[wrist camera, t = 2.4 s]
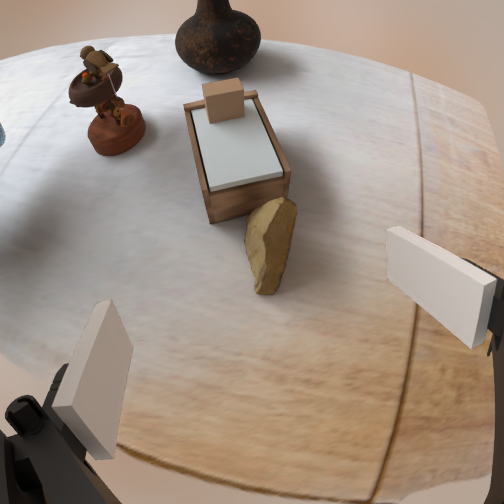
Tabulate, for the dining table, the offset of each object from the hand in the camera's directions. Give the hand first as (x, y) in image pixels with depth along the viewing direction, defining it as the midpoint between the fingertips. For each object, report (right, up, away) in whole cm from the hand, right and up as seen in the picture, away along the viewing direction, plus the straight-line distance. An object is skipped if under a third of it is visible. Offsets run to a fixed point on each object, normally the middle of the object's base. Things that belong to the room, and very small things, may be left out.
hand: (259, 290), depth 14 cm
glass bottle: (-7, +43, +47) cm, 64 cm away
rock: (+1, +1, +29) cm, 29 cm away
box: (-3, +14, +34) cm, 37 cm away
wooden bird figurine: (-25, +23, +39) cm, 52 cm away
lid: (-3, +16, +27) cm, 32 cm away
